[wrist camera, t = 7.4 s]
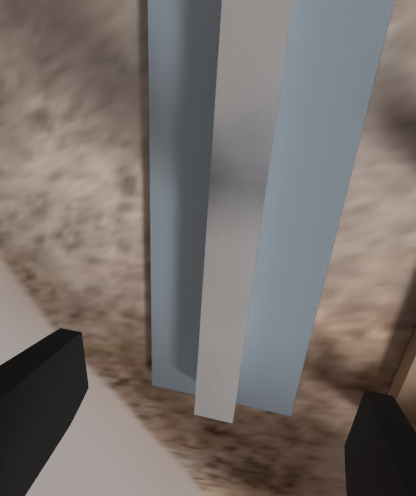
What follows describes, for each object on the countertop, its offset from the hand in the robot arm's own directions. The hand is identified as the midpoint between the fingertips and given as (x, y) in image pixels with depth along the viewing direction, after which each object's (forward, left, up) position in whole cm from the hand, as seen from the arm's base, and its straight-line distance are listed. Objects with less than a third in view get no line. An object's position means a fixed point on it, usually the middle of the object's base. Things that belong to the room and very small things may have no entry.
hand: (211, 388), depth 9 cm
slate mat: (0, +1, -8) cm, 8 cm away
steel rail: (0, +1, -8) cm, 8 cm away
